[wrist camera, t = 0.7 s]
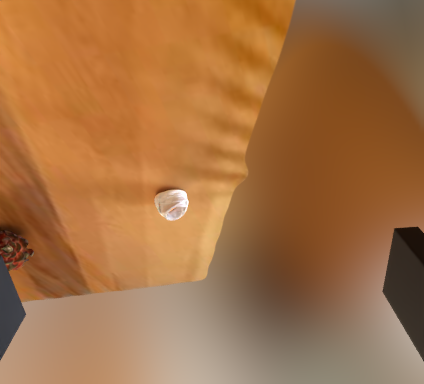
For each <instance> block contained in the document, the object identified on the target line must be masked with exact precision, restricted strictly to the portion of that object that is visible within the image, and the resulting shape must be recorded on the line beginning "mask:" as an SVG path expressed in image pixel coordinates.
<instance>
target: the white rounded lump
mask: <svg viewBox="0 0 424 384" xmlns="http://www.w3.org/2000/svg"><path fill="white" fill-rule="evenodd" d="M154 201H155V206H156V207H157V210H158V212H159V213H160V215H162V216H163V217H164V218H165V219H167V220H176V219H178V218H180V217H182V216H183V215H184V214H185V212H186V210H187V206H188V202H189V201H188V200H187V194H186V192H185V191H183V190H177V189H176V190H167V191H165V192H161V193H159V194H157V195H156V196H155V200H154ZM159 203H160V207H159ZM175 207H176V208H175ZM172 208H174V209H173V210H172V211H171V212H169V211H170V210H171V209H172Z"/></svg>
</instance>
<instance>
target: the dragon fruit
mask: <svg viewBox="0 0 424 384" xmlns="http://www.w3.org/2000/svg"><path fill="white" fill-rule="evenodd" d="M27 245H28V241H27V240H26V239H24V238H22V237H21V236H17V235H16V234H14V233H13V232H10V231H6V230H3V231H0V255H2V257H3V260H4V262H5V264H6V267H7V269H8V271H10V270H18V269H19V268H21V267H22V266H23V265H24V262H26V261H28V260H29V259H26V258H27V257H28V256H29V255H31V256H33V254H34V251H33V250H32V249H27V248H26V247H27ZM25 259H26V260H25ZM24 260H25V261H24Z"/></svg>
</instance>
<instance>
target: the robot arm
mask: <svg viewBox="0 0 424 384" xmlns="http://www.w3.org/2000/svg"><path fill="white" fill-rule="evenodd" d="M383 293H384V295H385V297H386V298H387V300H388V302H389V303H390V305H391V307H392V308H393V310H394V312H395V313H396V315H397V317H398V319H399V320H400V322H401V324H402V325H403V327H404V329H405V330H406V332H407V334H408V335H409V337H410V339H411V341H412V342H413V344H414V346H415V347H416V349H417V351H418V352H419V354H420V356H421V357H422V359H423V361H424V233H423V232H422V231H421V230H420V229H419V227H408V228H395V229H394V233H393V239H392V245H391V249H390V255H389V260H388V266H387V271H386V276H385V282H384V287H383ZM25 315H26V313H25V311H24V308H23V306H22V303H21V301H20V298H19V296H18V294H17V291H16V289H15V286H14V284H13V281H12V279H11V277H10V274H9V272H8V269H7V267H6V264H5V262H4V260H3V257H2V255H0V360H1V358H2V357H3V355H4V353H5V351H6V349H7V348H8V346H9V344H10V342H11V341H12V339H13V337H14V335H15V333H16V332H17V330H18V328H19V326H20V324H21V322H22V321H23V319H24V317H25Z"/></svg>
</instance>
